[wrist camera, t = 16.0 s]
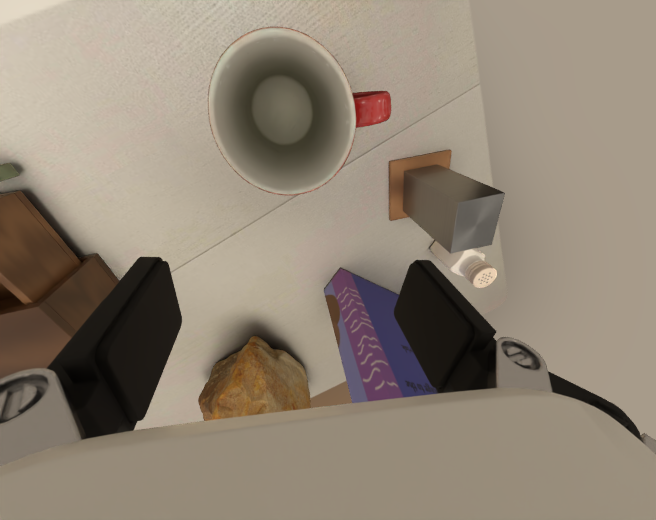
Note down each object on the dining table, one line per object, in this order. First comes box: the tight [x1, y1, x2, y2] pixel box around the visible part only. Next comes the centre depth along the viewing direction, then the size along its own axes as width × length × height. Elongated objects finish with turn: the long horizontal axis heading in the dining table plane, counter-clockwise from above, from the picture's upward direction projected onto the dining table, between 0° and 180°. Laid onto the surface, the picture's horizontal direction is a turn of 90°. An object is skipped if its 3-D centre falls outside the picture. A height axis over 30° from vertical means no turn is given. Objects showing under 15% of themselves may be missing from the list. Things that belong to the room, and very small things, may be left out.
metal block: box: [403, 164, 505, 254], centre depth 29 cm, size 6×4×12 cm
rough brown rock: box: [198, 336, 311, 421], centre depth 42 cm, size 23×17×15 cm
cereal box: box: [324, 268, 439, 403], centre depth 34 cm, size 17×5×24 cm, turn 57°
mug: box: [208, 27, 391, 195], centre depth 21 cm, size 13×9×14 cm
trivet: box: [389, 150, 451, 221], centre depth 34 cm, size 8×8×1 cm
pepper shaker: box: [430, 240, 497, 288], centre depth 36 cm, size 4×4×10 cm
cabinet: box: [0, 254, 119, 379], centre depth 31 cm, size 16×15×10 cm
